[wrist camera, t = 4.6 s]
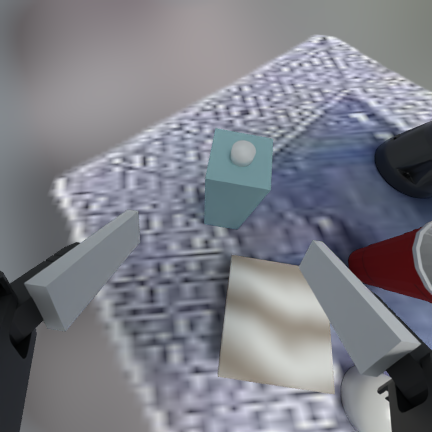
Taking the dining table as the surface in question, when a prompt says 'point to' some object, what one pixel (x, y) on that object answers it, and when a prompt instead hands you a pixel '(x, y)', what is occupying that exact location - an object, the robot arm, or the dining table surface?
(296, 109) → the dining table surface
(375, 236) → the dining table surface
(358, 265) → the plastic cup
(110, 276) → the robot arm
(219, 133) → the carton
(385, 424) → the white oval pebble
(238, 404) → the dining table surface
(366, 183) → the dining table surface
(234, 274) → the podium
